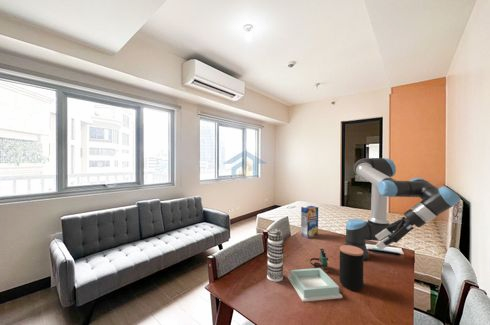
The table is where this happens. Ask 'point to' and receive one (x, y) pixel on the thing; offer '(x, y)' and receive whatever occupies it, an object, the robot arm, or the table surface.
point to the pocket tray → (313, 284)
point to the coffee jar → (351, 267)
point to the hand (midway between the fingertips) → (377, 242)
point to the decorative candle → (275, 255)
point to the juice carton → (309, 221)
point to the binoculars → (322, 260)
